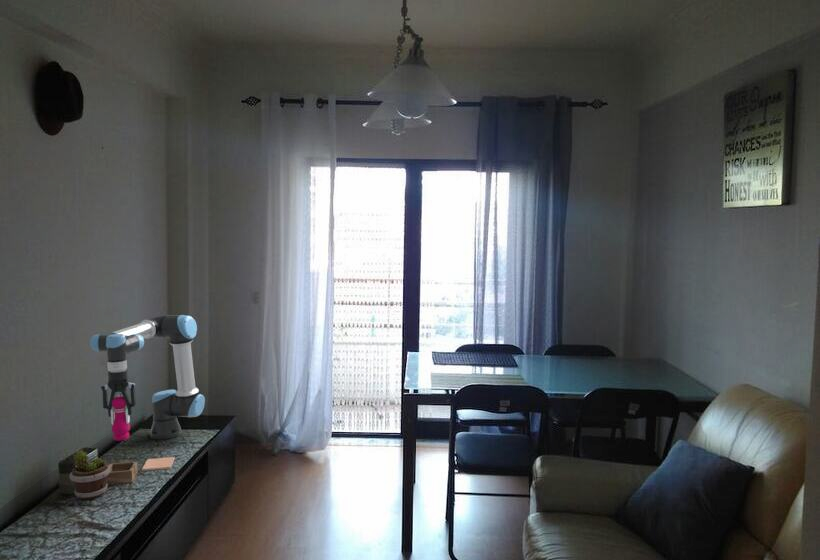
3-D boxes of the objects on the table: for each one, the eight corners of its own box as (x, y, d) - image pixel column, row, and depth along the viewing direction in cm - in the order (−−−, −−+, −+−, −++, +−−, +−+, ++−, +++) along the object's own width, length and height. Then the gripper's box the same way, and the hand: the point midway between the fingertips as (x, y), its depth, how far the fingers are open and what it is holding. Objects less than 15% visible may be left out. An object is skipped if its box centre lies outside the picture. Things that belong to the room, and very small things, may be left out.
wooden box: (111, 474, 276) (110, 463, 275) (137, 472, 278) (137, 461, 278) (104, 484, 265) (103, 473, 265) (132, 482, 267) (131, 470, 267)
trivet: (147, 460, 291) (147, 459, 291) (174, 458, 294) (174, 457, 294) (142, 470, 280) (141, 469, 280) (170, 468, 282) (170, 466, 282)
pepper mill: (127, 434, 276) (124, 390, 274) (133, 438, 271) (130, 393, 269) (109, 438, 271) (107, 393, 269) (115, 442, 266) (113, 396, 264)
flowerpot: (117, 486, 263) (115, 440, 261) (100, 502, 248) (98, 453, 246) (82, 487, 263) (79, 441, 261) (63, 503, 247) (60, 454, 246)
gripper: (92, 373, 263) (95, 427, 265) (138, 371, 266) (141, 424, 268) (97, 369, 270) (100, 421, 272) (142, 367, 274) (145, 418, 276)
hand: (120, 422), depth 270 cm, fingers closed on pepper mill, 5 cm apart
